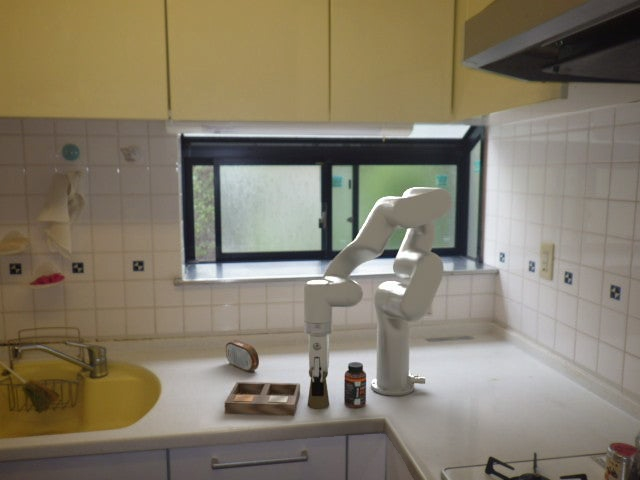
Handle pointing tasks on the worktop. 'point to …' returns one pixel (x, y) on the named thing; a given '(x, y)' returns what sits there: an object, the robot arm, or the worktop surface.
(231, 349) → the tin
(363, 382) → the supplement bottle
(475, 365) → the worktop surface
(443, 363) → the worktop surface
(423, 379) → the robot arm
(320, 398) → the olive piece
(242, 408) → the socket block
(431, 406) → the worktop surface
